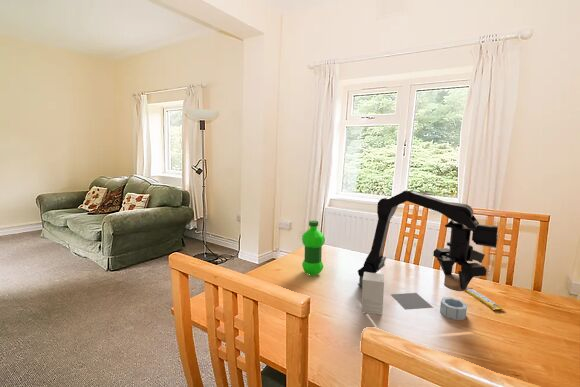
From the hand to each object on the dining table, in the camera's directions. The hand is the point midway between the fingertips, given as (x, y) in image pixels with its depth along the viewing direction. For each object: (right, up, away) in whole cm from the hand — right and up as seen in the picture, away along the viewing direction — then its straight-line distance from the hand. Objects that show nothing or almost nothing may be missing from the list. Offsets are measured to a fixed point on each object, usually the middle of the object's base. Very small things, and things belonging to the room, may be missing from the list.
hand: (455, 284), depth 100 cm
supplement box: (-28, -11, +5) cm, 30 cm away
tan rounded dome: (0, -1, 0) cm, 1 cm away
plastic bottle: (-47, -6, +35) cm, 59 cm away
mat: (-11, -10, +10) cm, 18 cm away
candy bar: (+17, -11, +12) cm, 24 cm away
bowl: (0, -11, +2) cm, 11 cm away
